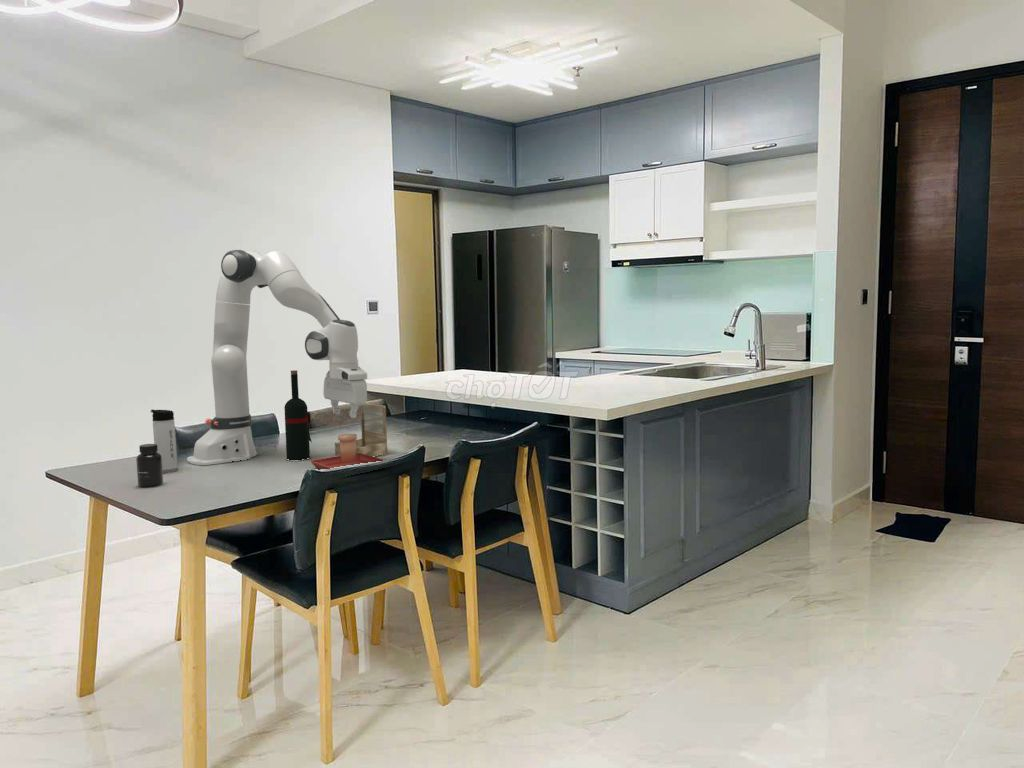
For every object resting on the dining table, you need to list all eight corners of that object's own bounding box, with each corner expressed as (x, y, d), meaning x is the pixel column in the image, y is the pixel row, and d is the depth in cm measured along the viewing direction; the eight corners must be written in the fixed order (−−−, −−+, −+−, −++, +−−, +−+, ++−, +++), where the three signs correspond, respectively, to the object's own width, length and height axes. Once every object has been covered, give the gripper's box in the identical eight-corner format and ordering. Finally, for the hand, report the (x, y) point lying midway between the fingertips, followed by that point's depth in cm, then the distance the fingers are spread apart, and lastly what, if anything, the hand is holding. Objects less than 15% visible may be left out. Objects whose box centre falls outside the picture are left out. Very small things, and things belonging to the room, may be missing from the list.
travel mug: (155, 470, 246) (150, 408, 244) (177, 468, 249) (173, 407, 246) (154, 474, 240) (150, 411, 238) (177, 472, 243) (173, 409, 240)
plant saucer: (360, 461, 256) (359, 451, 255) (388, 470, 242) (388, 460, 242) (309, 470, 244) (309, 460, 243) (337, 480, 230) (336, 469, 230)
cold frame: (357, 460, 255) (355, 410, 253) (335, 454, 265) (333, 406, 263) (387, 454, 264) (385, 406, 262) (364, 449, 274) (362, 402, 272)
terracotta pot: (345, 463, 238) (344, 438, 237) (335, 460, 242) (334, 435, 241) (361, 459, 243) (360, 435, 241) (351, 457, 247) (349, 432, 246)
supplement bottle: (137, 488, 222) (134, 448, 221) (138, 483, 229) (135, 444, 227) (163, 486, 225) (160, 445, 224) (163, 481, 231) (160, 442, 230)
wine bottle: (319, 455, 263) (315, 369, 260) (299, 461, 254) (294, 372, 251) (302, 454, 267) (298, 368, 263) (281, 459, 258) (276, 371, 254)
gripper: (318, 370, 244) (318, 413, 246) (352, 375, 229) (353, 420, 231) (335, 369, 248) (336, 411, 250) (370, 373, 234) (370, 418, 235)
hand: (344, 415), depth 240 cm, fingers open, 8 cm apart
